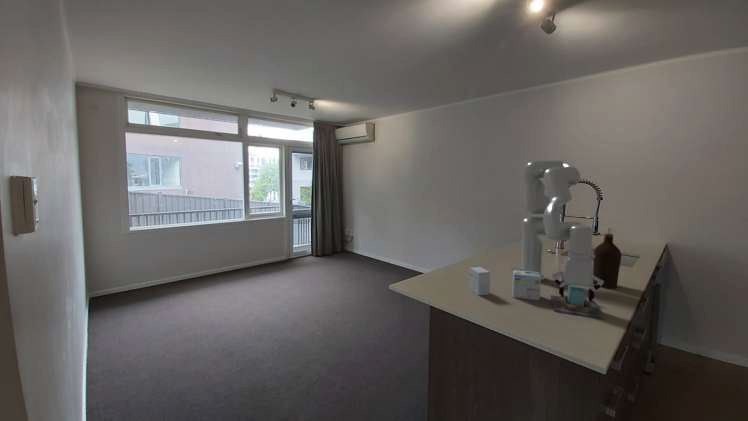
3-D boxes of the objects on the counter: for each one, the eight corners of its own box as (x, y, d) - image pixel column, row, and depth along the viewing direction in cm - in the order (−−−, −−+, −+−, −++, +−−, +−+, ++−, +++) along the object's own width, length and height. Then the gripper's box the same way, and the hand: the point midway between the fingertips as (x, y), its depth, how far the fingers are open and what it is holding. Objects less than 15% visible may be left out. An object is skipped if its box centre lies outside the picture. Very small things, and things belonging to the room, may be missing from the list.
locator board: (554, 311, 122) (555, 302, 121) (550, 296, 136) (551, 288, 136) (604, 319, 115) (605, 309, 115) (594, 303, 129) (595, 294, 129)
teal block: (567, 300, 130) (568, 284, 129) (580, 302, 128) (581, 286, 127) (570, 307, 123) (571, 290, 122) (583, 309, 121) (585, 292, 120)
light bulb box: (537, 295, 138) (539, 271, 137) (540, 301, 132) (541, 276, 130) (511, 292, 142) (512, 269, 140) (512, 297, 135) (513, 273, 134)
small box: (489, 294, 138) (490, 271, 137) (478, 295, 137) (479, 272, 136) (479, 288, 146) (480, 266, 145) (469, 289, 145) (469, 267, 144)
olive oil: (624, 289, 145) (629, 236, 142) (601, 289, 145) (605, 236, 142) (607, 281, 155) (611, 232, 152) (586, 281, 155) (590, 232, 152)
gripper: (603, 256, 123) (599, 298, 125) (552, 251, 130) (550, 291, 132) (608, 261, 116) (604, 305, 118) (554, 256, 123) (552, 297, 125)
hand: (575, 297), depth 125 cm, fingers open, 9 cm apart
